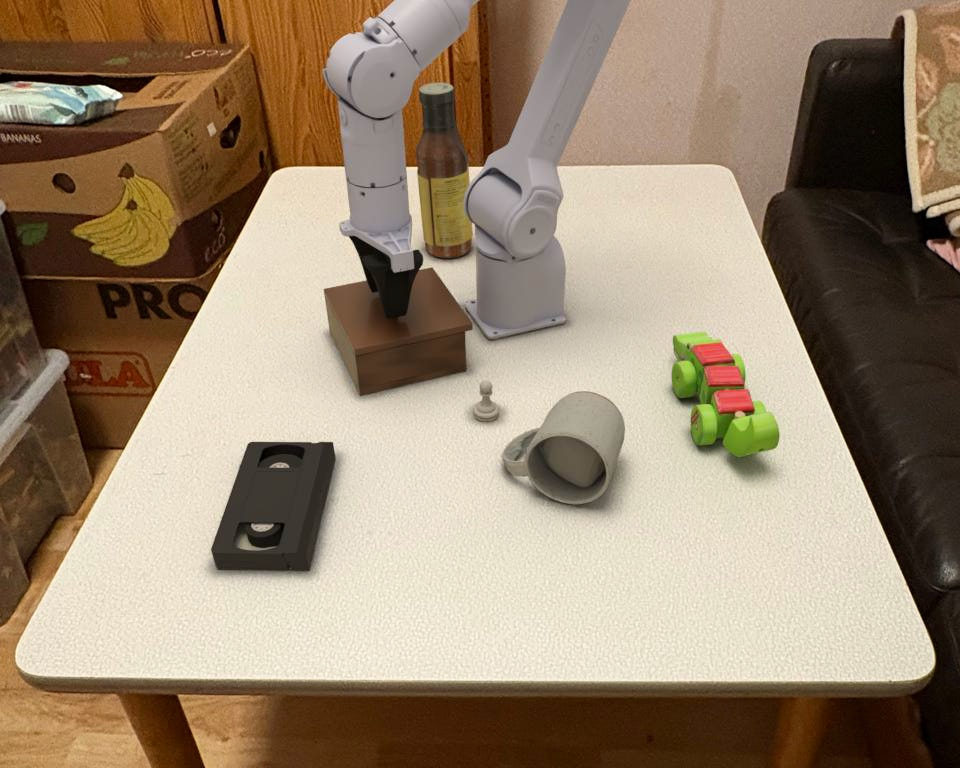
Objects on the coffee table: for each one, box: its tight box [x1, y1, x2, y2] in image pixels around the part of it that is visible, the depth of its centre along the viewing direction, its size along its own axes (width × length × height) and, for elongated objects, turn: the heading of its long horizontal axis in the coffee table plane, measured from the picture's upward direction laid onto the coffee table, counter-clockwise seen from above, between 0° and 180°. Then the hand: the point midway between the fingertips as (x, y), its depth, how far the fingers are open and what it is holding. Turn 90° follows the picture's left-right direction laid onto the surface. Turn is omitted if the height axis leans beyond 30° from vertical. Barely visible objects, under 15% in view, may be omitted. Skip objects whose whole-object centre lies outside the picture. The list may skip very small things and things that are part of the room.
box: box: [324, 296, 467, 396], centre depth 97 cm, size 12×13×5 cm
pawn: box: [472, 379, 500, 422], centre depth 89 cm, size 3×3×4 cm
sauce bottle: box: [415, 82, 474, 259], centre depth 109 cm, size 6×6×20 cm
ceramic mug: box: [501, 390, 626, 505], centre depth 81 cm, size 11×8×8 cm
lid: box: [323, 266, 474, 356], centre depth 94 cm, size 12×13×4 cm
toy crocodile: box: [671, 331, 781, 458], centre depth 88 cm, size 20×7×6 cm, turn 5°
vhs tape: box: [210, 441, 336, 571], centre depth 80 cm, size 14×8×2 cm, turn 178°
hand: (388, 302), depth 94 cm, fingers closed on lid, 5 cm apart
